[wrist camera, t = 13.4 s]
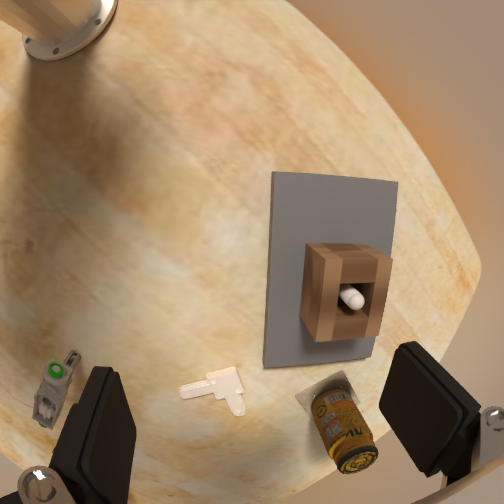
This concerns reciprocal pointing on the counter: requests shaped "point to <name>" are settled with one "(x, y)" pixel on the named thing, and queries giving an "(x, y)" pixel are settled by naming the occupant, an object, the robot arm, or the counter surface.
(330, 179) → the pin board
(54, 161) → the counter surface
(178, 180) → the counter surface
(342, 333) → the hollow block
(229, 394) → the corner connector
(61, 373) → the mechanical component
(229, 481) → the counter surface
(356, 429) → the condiment
